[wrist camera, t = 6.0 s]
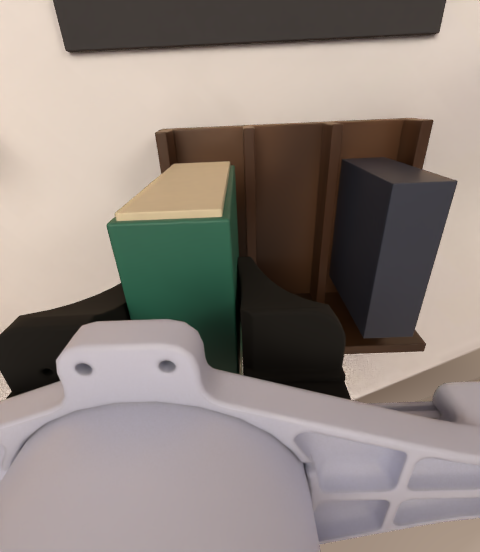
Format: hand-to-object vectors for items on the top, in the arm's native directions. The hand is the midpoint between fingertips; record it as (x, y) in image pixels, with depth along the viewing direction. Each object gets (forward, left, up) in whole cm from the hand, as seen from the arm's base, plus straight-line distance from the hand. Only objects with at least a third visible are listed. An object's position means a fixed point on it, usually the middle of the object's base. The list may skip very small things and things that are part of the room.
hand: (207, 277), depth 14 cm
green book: (0, 0, -3) cm, 3 cm away
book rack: (-5, 0, -8) cm, 10 cm away
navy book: (-9, 0, -7) cm, 12 cm away
